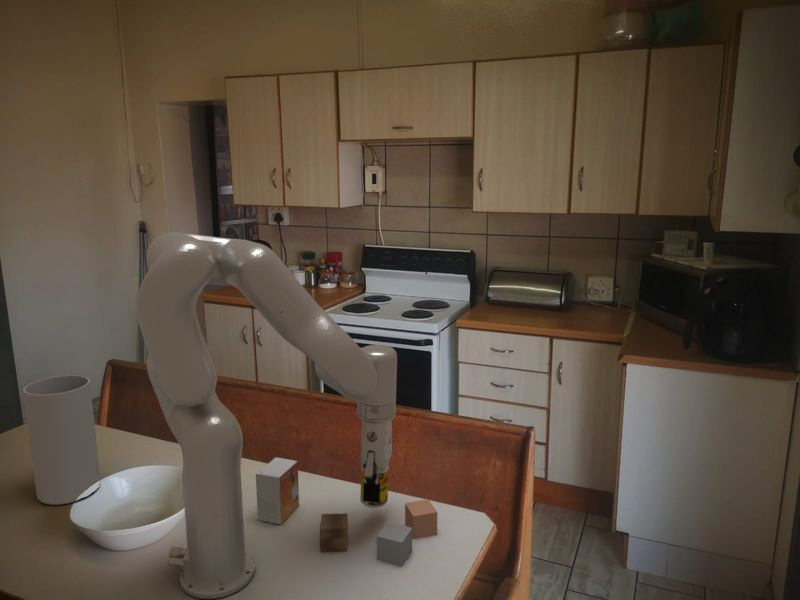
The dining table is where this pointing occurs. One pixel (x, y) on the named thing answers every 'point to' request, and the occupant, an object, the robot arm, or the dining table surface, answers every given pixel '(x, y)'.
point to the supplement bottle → (383, 488)
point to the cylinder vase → (62, 437)
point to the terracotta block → (421, 518)
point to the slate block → (394, 544)
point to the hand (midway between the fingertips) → (374, 492)
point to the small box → (277, 490)
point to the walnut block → (333, 532)
